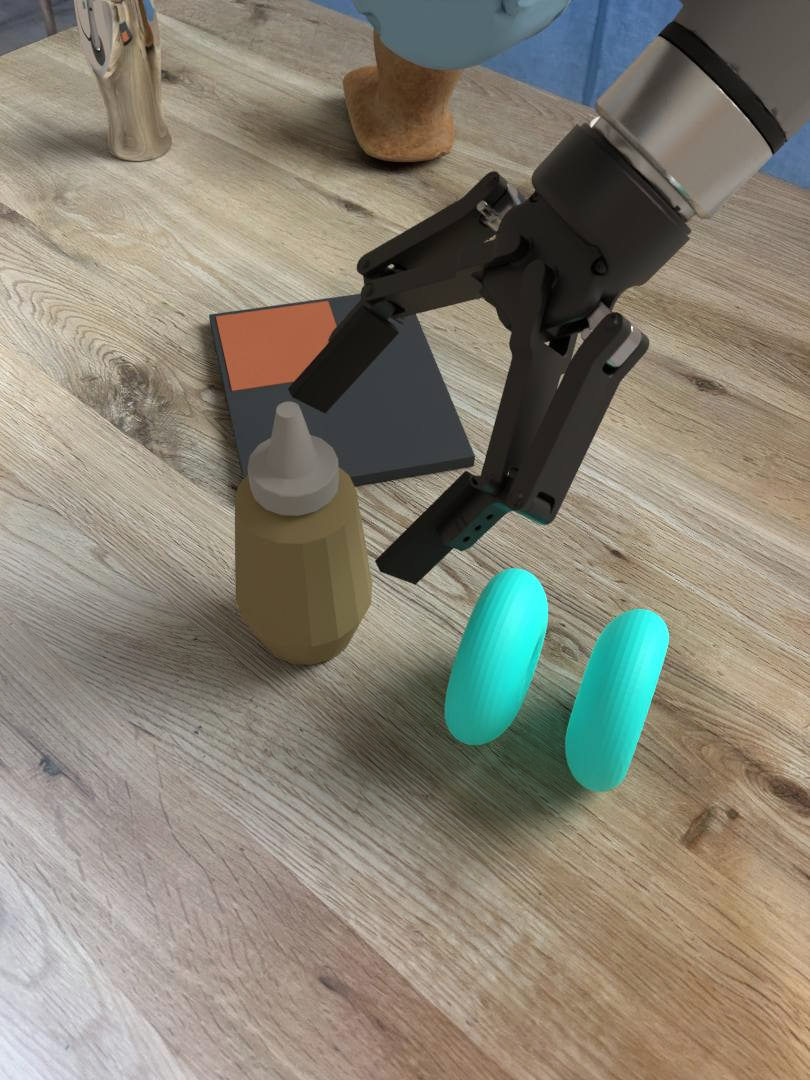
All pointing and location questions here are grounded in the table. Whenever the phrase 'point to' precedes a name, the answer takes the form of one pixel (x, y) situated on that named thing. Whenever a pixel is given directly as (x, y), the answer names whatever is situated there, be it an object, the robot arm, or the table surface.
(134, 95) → the chrome sculpted vase
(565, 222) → the robot arm
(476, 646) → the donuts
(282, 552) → the squeeze bottle
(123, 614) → the table surface
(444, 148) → the stone cup
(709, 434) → the table surface
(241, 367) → the mat
